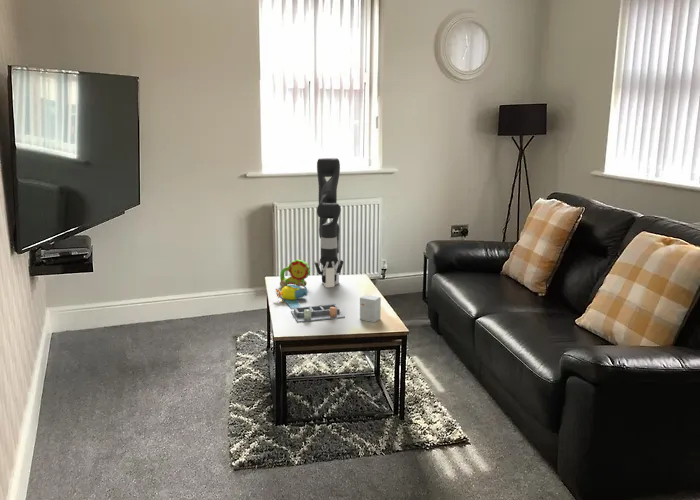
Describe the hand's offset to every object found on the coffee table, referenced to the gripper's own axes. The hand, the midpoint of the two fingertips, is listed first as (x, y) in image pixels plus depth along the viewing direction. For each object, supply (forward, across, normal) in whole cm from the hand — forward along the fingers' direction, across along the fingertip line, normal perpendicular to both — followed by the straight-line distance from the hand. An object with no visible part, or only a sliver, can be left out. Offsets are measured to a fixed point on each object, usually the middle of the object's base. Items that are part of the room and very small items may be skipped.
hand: (329, 282), depth 289 cm
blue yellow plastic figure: (+16, +13, -24) cm, 31 cm away
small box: (+15, -16, +14) cm, 26 cm away
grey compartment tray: (+15, +6, +2) cm, 16 cm away
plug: (+2, 0, 0) cm, 2 cm away
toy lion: (+15, +6, -44) cm, 47 cm away
